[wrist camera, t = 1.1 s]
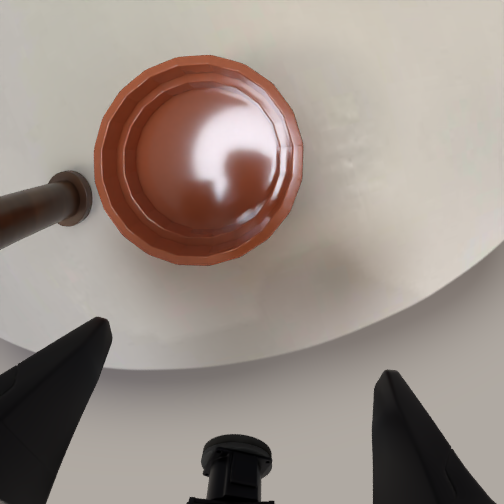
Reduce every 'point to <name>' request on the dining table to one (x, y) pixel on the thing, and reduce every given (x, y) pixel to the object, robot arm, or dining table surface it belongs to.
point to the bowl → (198, 160)
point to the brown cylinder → (44, 207)
